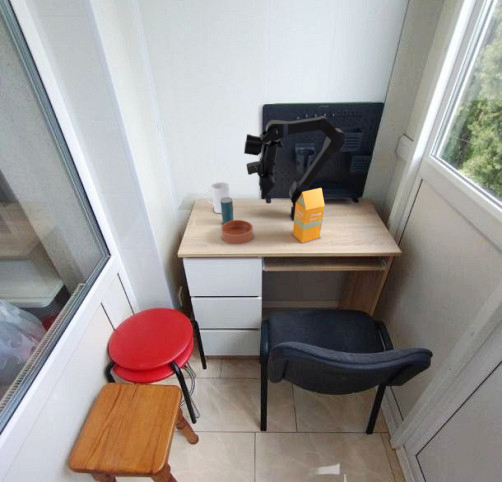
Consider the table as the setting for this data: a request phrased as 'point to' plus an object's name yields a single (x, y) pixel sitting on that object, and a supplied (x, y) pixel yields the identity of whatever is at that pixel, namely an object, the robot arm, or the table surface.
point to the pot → (237, 231)
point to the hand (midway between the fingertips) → (261, 194)
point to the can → (227, 209)
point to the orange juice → (308, 215)
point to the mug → (218, 194)
